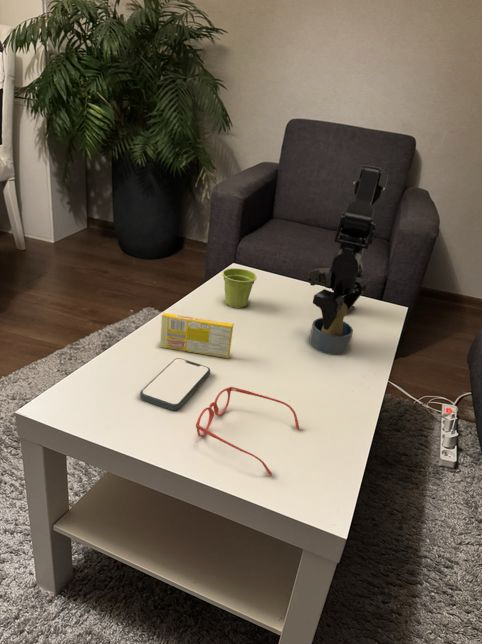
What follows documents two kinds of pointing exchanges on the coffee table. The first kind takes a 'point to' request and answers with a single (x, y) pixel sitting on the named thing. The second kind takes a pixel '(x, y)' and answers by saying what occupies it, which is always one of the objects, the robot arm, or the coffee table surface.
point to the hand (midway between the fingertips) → (333, 323)
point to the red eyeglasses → (216, 409)
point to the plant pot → (238, 286)
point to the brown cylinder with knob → (337, 323)
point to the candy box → (196, 335)
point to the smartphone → (175, 384)
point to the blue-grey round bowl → (330, 339)
